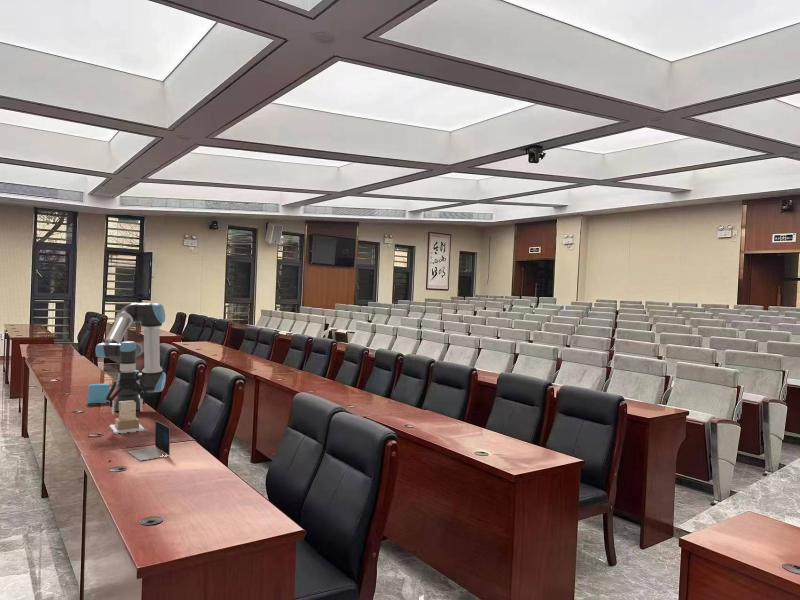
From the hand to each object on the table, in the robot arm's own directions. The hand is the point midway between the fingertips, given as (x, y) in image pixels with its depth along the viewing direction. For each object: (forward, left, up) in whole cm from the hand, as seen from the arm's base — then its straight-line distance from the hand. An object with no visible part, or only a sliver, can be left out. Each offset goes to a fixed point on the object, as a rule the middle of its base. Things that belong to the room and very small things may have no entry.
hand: (127, 412), depth 308 cm
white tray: (0, 0, -9) cm, 9 cm away
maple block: (0, 0, -4) cm, 4 cm away
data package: (-50, -62, -9) cm, 80 cm away
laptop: (+36, +41, -9) cm, 56 cm away
